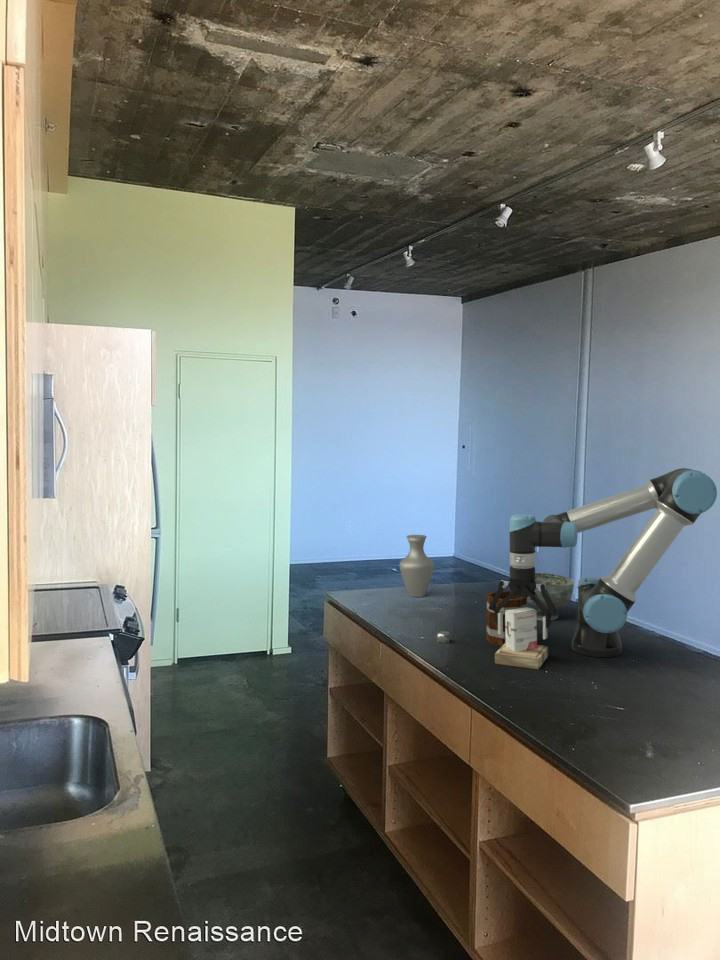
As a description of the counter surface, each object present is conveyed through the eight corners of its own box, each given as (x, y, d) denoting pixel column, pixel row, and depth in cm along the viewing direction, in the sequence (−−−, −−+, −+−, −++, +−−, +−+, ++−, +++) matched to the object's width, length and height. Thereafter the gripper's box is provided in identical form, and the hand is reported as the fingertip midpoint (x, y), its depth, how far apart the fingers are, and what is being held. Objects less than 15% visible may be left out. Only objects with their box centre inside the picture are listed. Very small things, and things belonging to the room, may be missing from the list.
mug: (524, 648, 237) (524, 601, 236) (482, 644, 242) (482, 598, 241) (531, 631, 256) (531, 588, 255) (491, 628, 260) (491, 586, 259)
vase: (417, 589, 320) (416, 532, 318) (441, 595, 309) (441, 536, 307) (392, 595, 311) (392, 535, 309) (416, 601, 300) (416, 539, 298)
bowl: (576, 625, 263) (576, 583, 261) (520, 623, 266) (520, 582, 264) (569, 611, 282) (570, 572, 281) (517, 609, 285) (517, 571, 284)
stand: (506, 651, 234) (506, 640, 234) (547, 656, 229) (548, 645, 228) (494, 663, 223) (494, 651, 222) (538, 669, 217) (538, 657, 217)
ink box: (527, 644, 230) (527, 606, 229) (537, 648, 225) (538, 609, 224) (504, 648, 226) (504, 609, 225) (514, 652, 221) (514, 613, 220)
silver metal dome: (439, 639, 248) (439, 630, 247) (451, 641, 246) (450, 632, 246) (435, 642, 244) (435, 633, 244) (446, 644, 242) (446, 635, 242)
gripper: (478, 565, 225) (478, 634, 227) (562, 571, 214) (561, 643, 216) (485, 561, 232) (485, 627, 234) (567, 566, 221) (566, 636, 223)
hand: (522, 635), depth 225 cm, fingers open, 13 cm apart
